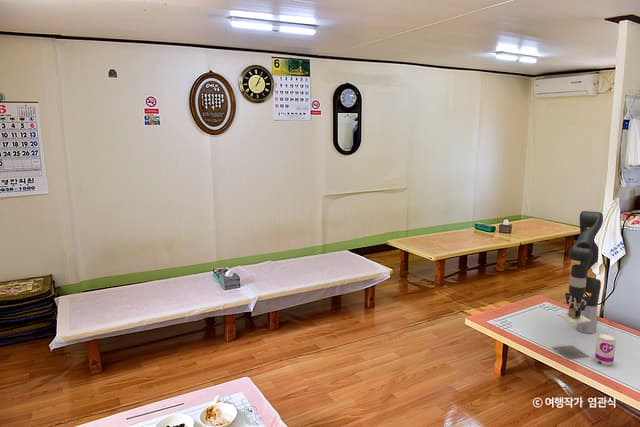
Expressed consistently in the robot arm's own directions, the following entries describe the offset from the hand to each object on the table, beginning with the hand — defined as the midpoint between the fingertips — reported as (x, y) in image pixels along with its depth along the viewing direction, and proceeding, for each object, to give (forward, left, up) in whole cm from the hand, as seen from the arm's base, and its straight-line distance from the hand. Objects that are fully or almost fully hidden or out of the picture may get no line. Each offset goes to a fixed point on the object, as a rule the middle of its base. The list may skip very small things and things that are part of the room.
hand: (574, 314), depth 238 cm
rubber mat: (0, 0, -23) cm, 23 cm away
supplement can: (-10, +12, -23) cm, 28 cm away
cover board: (0, 0, -2) cm, 2 cm away
